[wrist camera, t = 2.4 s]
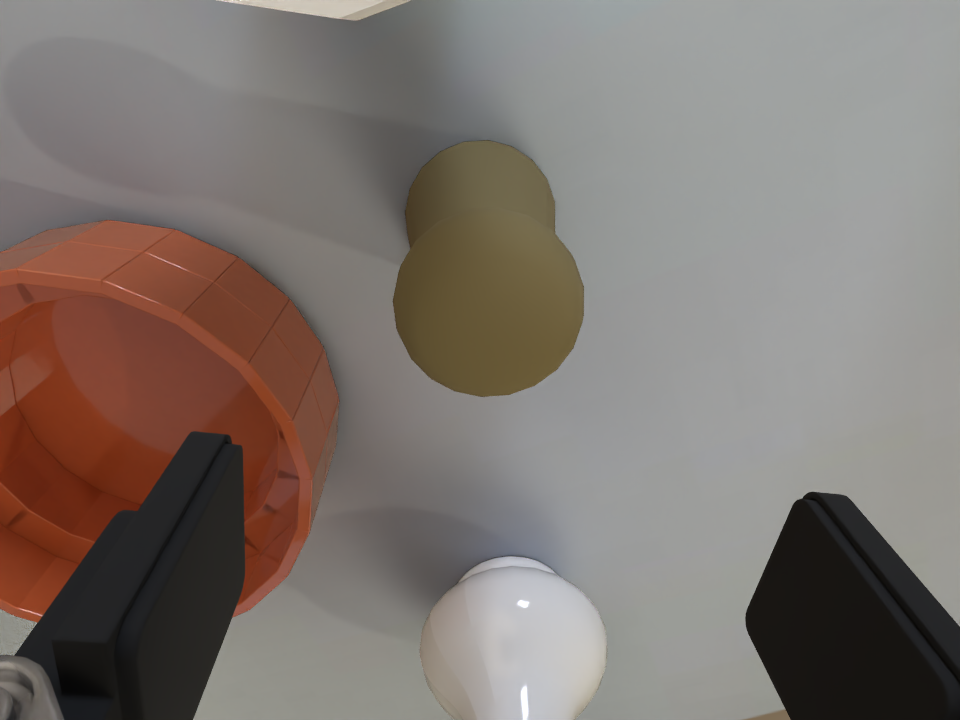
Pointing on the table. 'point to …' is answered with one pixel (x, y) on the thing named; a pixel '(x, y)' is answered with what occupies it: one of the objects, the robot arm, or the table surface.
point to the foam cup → (327, 7)
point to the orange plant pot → (148, 397)
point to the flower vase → (513, 644)
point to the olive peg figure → (486, 273)
